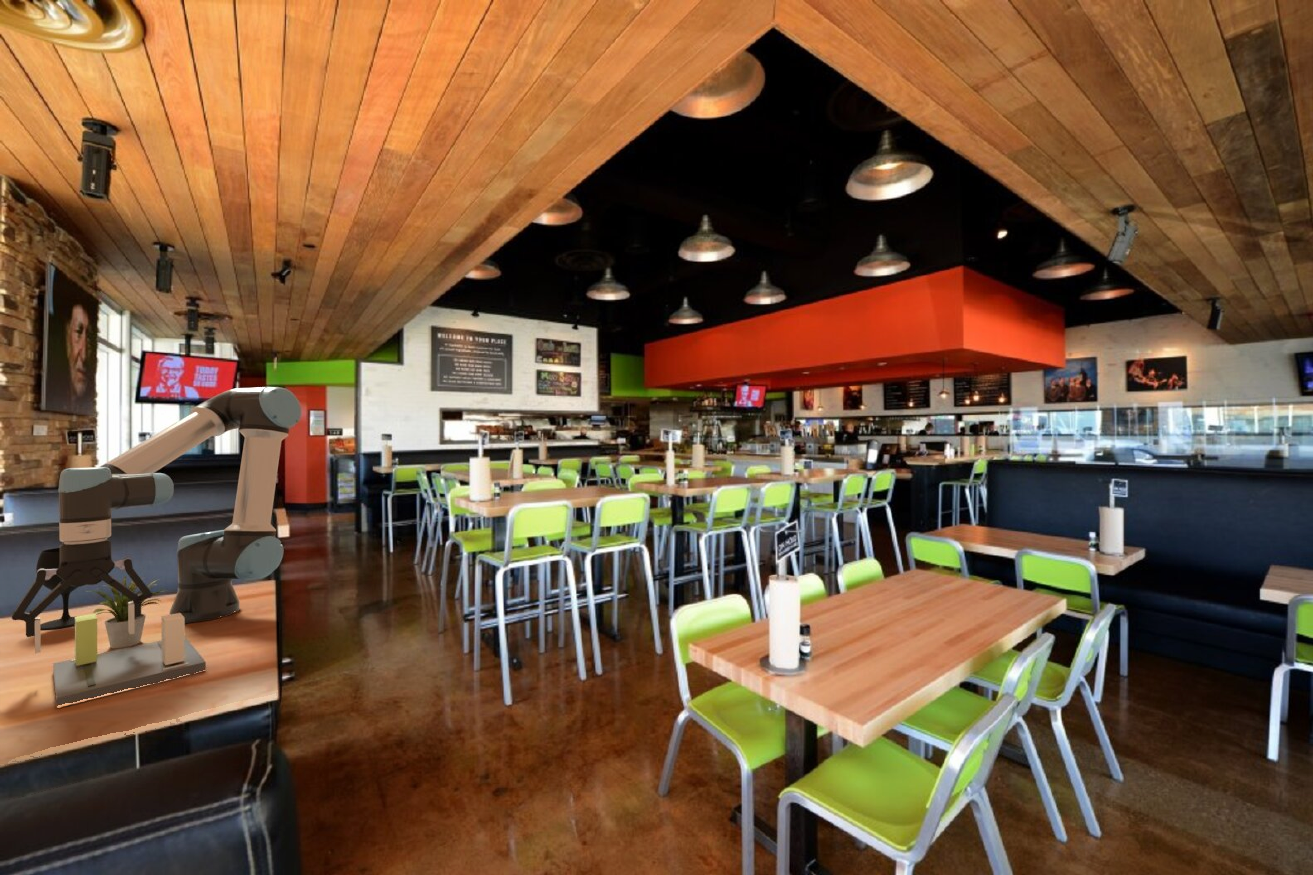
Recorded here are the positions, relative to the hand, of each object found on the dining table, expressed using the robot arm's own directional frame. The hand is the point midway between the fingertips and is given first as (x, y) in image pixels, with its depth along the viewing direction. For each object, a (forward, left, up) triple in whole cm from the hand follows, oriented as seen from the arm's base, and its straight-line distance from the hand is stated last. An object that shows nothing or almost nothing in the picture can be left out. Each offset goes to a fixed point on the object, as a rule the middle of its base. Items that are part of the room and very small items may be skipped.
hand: (86, 641), depth 114 cm
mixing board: (-6, +7, -6) cm, 11 cm away
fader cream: (-12, +14, -4) cm, 19 cm away
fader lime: (0, 0, -4) cm, 4 cm away
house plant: (-6, -15, -7) cm, 18 cm away
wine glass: (+2, -50, -7) cm, 50 cm away
